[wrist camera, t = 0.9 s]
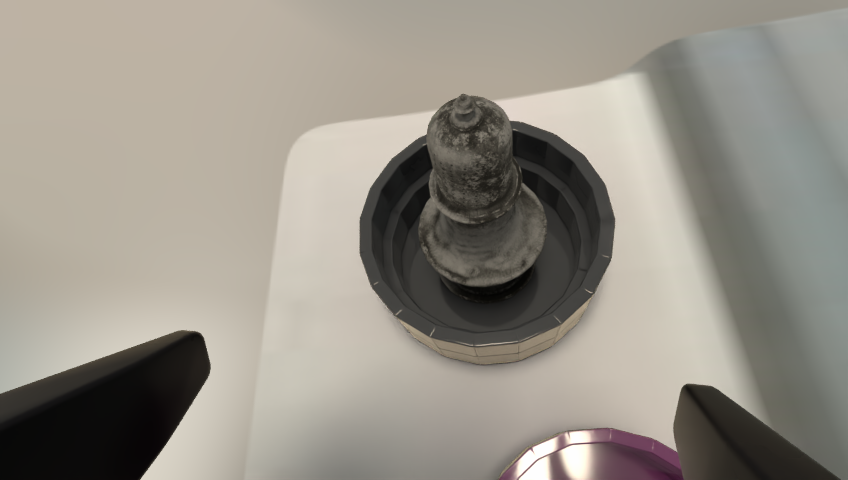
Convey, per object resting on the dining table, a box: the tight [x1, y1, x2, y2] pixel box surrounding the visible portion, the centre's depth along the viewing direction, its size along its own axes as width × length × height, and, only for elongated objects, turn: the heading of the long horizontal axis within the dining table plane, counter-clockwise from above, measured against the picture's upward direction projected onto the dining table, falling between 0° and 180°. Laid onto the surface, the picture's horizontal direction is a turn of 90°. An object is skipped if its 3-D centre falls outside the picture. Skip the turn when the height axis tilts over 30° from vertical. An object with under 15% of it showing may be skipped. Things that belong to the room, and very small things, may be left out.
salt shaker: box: [418, 94, 547, 304], centre depth 18 cm, size 6×6×12 cm
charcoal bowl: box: [360, 121, 615, 365], centre depth 22 cm, size 11×11×4 cm
